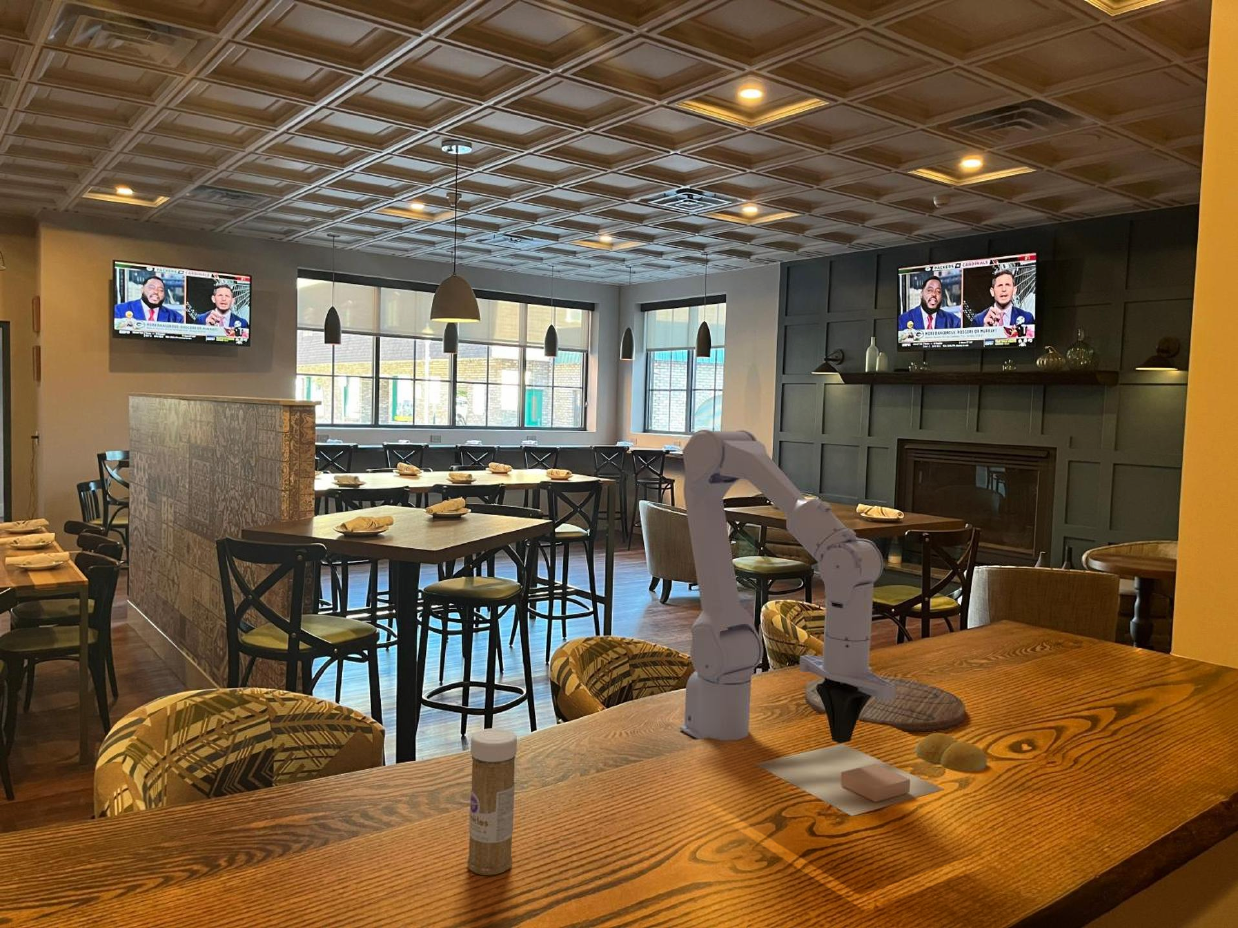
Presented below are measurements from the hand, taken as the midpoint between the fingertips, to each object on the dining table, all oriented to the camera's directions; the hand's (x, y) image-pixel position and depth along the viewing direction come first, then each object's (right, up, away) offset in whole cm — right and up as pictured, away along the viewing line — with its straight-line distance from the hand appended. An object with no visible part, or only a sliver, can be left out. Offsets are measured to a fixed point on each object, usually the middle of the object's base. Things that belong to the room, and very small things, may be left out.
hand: (841, 740), depth 115 cm
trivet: (+15, -5, +32) cm, 35 cm away
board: (0, -5, -1) cm, 5 cm away
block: (+2, -3, -2) cm, 4 cm away
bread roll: (+16, -6, +7) cm, 19 cm away
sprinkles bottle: (-41, -5, -24) cm, 48 cm away
